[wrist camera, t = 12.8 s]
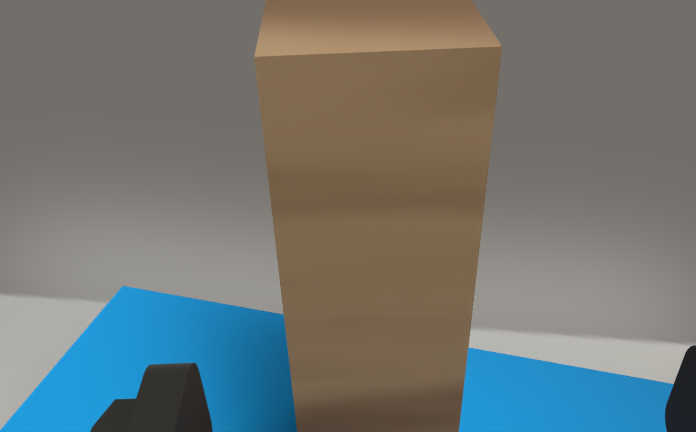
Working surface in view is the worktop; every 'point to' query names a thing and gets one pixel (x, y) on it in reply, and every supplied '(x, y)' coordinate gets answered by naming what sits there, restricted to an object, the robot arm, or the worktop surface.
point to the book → (275, 378)
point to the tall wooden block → (377, 202)
